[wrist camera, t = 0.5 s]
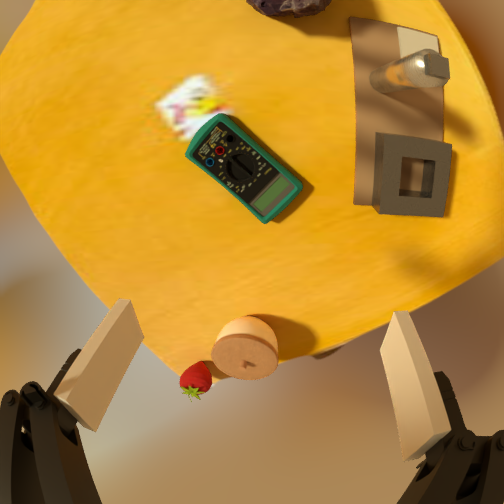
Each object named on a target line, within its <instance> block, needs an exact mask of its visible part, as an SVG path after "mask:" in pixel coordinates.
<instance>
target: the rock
mask: <svg viewBox="0 0 504 504" xmlns="http://www.w3.org/2000/svg"><path fill="white" fill-rule="evenodd" d="M246 2H247V3H248V4H250V5H251V6H252V7H253V8H254V9H255V10H256V11H258V12H260V13H261V14H263V15H270V16H286V15H292V14H293V15H294V17H295V18H298V17H302V16H308V15H315V14H317V13H319V12H320V11H323V10H325V8H326V6H327V5H329V3H330V2H331V0H246Z"/></svg>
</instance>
